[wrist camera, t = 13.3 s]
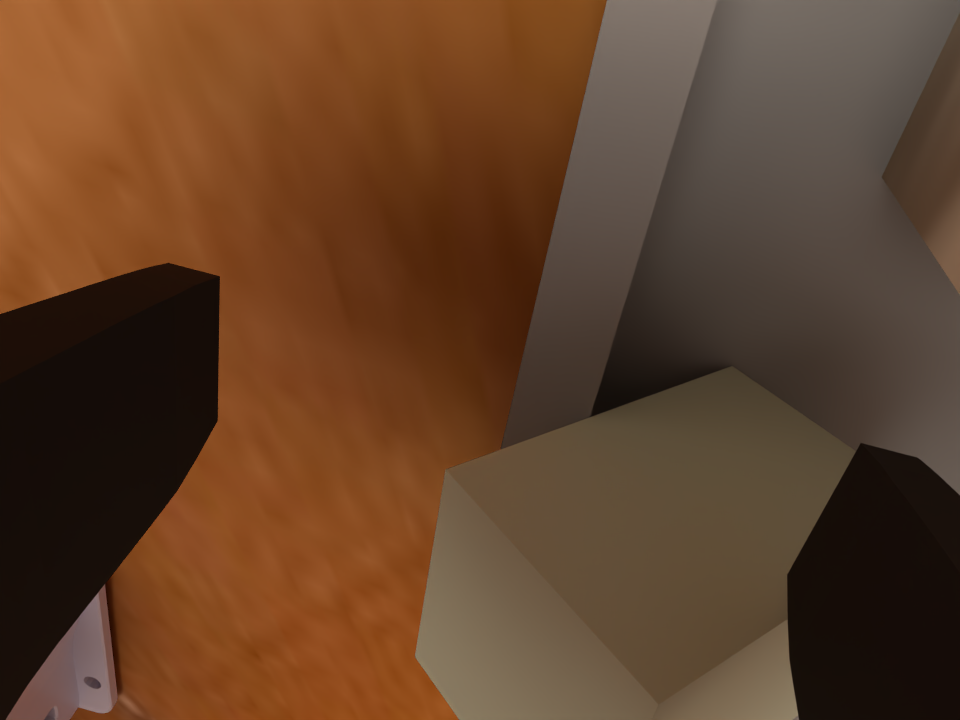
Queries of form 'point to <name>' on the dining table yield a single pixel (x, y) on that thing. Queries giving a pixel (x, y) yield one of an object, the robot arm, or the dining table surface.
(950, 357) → the tray
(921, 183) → the brown metal block
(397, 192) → the dining table surface
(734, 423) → the sage block
